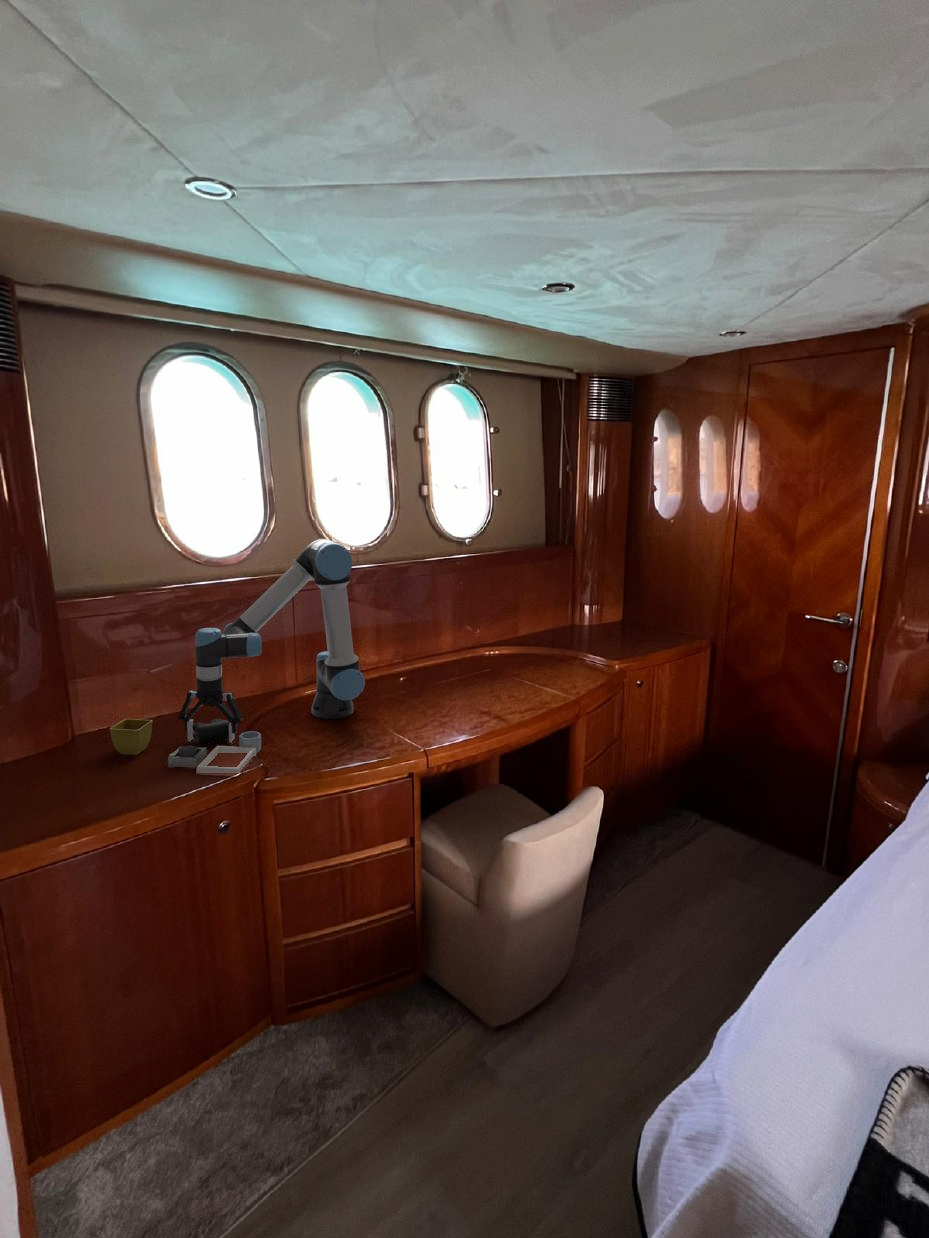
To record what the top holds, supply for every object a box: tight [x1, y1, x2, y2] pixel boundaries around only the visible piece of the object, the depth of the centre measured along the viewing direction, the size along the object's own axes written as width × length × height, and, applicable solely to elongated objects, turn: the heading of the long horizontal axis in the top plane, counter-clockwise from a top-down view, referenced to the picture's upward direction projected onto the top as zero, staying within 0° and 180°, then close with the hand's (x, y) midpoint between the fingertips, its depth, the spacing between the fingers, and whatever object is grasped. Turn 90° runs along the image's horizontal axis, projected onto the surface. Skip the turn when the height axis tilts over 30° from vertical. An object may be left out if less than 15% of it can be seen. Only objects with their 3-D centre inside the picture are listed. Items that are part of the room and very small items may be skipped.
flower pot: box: [109, 718, 153, 756], centre depth 192 cm, size 9×9×9 cm
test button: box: [177, 745, 198, 757], centre depth 188 cm, size 5×5×3 cm
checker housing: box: [167, 745, 208, 768], centre depth 188 cm, size 8×8×4 cm
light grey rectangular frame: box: [196, 745, 257, 774], centre depth 188 cm, size 12×15×2 cm
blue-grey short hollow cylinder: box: [238, 730, 262, 754], centre depth 198 cm, size 6×6×5 cm
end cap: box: [192, 718, 230, 747], centre depth 202 cm, size 10×7×7 cm
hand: (211, 741), depth 203 cm, fingers open, 12 cm apart
